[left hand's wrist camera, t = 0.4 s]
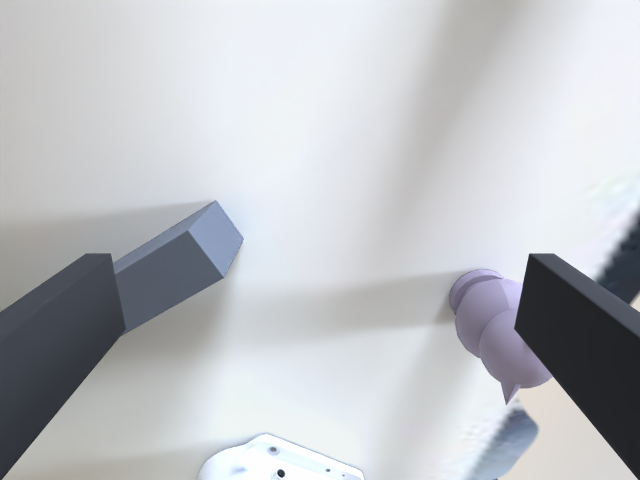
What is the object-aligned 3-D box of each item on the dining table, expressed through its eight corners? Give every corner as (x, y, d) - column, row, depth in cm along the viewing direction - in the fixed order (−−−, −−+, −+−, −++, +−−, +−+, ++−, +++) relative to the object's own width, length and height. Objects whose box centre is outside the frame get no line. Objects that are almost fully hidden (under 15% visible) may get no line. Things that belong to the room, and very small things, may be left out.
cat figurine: (500, 334, 44) (563, 418, 33) (433, 324, 43) (473, 406, 32) (527, 266, 41) (605, 333, 30) (455, 255, 40) (507, 319, 29)
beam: (216, 200, 38) (188, 229, 30) (244, 239, 40) (224, 277, 32) (-132, 413, 48) (-225, 480, 40) (-99, 438, 50) (-182, 507, 41)
